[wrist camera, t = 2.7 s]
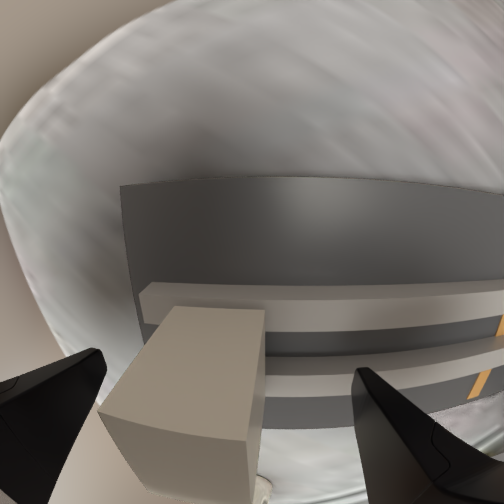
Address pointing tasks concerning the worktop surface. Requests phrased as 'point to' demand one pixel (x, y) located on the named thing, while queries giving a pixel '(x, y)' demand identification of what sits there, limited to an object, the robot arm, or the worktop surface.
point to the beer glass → (262, 490)
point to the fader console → (332, 282)
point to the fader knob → (194, 406)
